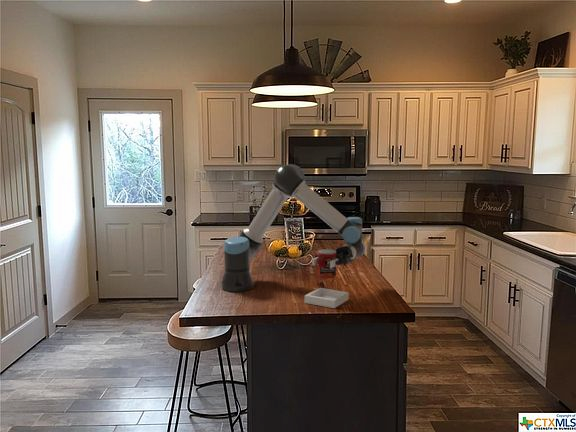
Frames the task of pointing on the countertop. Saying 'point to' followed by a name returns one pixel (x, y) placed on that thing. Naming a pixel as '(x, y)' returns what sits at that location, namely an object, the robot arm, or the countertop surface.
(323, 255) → the canned food
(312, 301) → the tray
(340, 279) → the countertop surface
